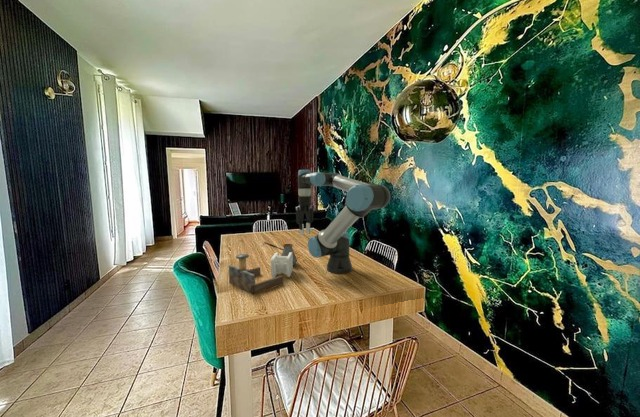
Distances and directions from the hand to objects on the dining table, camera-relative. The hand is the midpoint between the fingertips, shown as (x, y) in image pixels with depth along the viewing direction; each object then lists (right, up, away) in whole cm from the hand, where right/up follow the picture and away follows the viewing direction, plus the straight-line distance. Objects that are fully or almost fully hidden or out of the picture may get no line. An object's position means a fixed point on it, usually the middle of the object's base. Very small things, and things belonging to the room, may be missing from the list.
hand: (305, 234), depth 158 cm
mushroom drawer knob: (-36, -22, -7) cm, 42 cm away
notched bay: (-24, -23, -23) cm, 41 cm away
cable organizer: (-12, -22, -11) cm, 28 cm away
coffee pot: (-16, -21, +7) cm, 27 cm away
